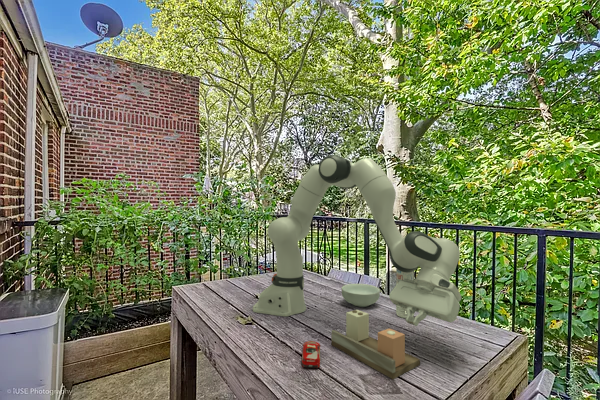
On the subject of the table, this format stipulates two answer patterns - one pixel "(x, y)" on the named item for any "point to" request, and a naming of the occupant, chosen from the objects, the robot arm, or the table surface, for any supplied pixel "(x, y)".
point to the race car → (311, 354)
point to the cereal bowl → (360, 294)
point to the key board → (372, 355)
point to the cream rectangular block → (357, 325)
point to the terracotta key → (392, 345)
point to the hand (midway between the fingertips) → (411, 323)
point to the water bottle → (399, 276)
